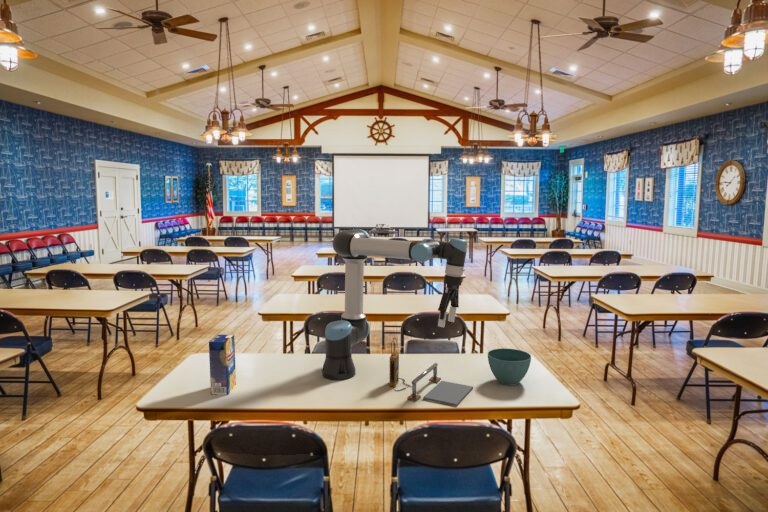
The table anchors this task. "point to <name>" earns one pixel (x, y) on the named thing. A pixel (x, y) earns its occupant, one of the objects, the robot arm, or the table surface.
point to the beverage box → (222, 364)
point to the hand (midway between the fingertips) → (446, 324)
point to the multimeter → (394, 368)
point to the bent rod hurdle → (432, 379)
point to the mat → (448, 393)
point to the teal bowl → (509, 365)
